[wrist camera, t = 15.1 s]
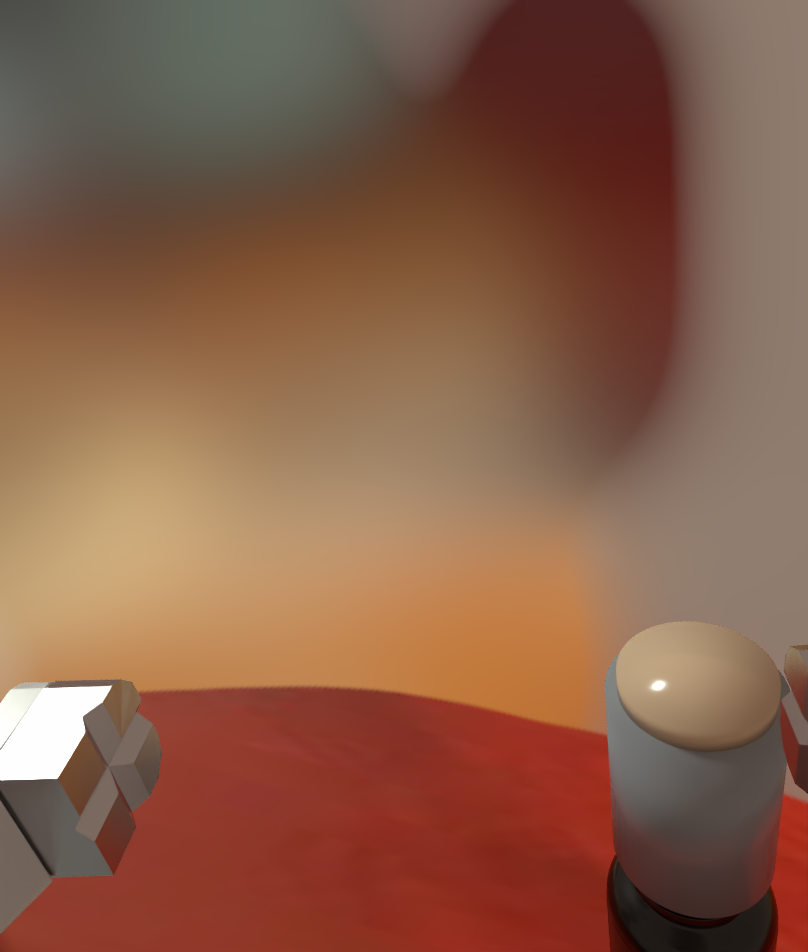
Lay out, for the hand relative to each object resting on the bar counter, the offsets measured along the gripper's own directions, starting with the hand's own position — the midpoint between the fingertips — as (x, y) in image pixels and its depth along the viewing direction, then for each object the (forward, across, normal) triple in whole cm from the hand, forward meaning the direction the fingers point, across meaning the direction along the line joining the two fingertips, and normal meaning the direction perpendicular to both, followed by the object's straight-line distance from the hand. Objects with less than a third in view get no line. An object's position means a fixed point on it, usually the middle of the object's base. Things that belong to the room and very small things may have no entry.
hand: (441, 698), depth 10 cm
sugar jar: (+13, -6, +22) cm, 26 cm away
